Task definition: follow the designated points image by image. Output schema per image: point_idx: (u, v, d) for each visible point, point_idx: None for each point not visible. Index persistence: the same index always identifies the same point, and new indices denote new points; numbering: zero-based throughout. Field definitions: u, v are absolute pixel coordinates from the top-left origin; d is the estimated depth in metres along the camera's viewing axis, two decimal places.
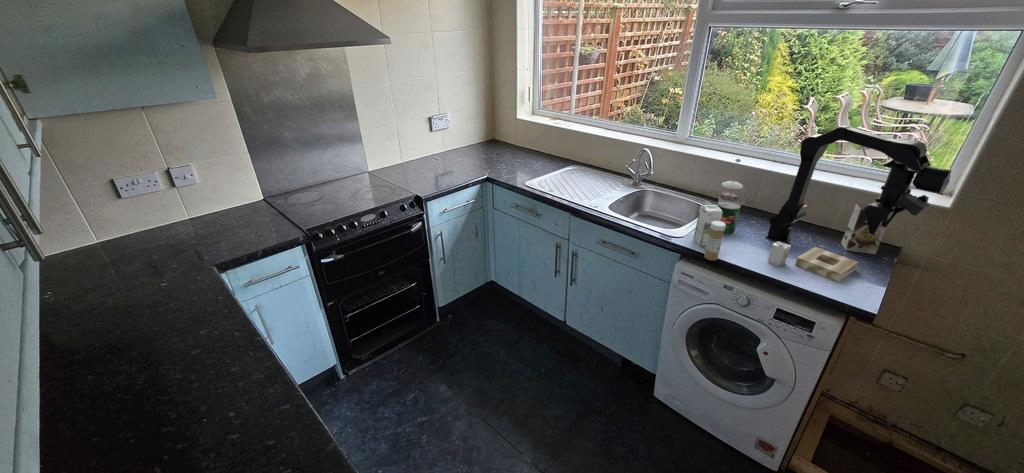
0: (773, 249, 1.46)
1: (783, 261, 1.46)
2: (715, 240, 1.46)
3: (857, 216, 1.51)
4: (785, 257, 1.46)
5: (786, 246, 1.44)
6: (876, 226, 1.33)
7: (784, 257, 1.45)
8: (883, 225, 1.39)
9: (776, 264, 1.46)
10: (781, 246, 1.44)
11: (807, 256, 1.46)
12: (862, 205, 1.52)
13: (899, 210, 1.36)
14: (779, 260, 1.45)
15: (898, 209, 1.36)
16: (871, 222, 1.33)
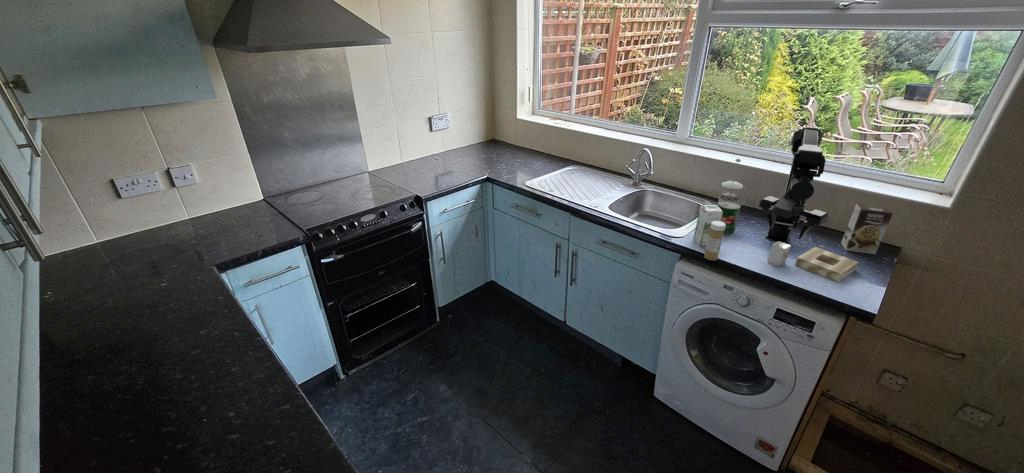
0: (773, 249, 1.46)
1: (783, 261, 1.46)
2: (715, 240, 1.46)
3: (857, 216, 1.51)
4: (785, 257, 1.46)
5: (786, 246, 1.44)
6: None
7: (784, 257, 1.45)
8: None
9: (776, 264, 1.46)
10: (781, 246, 1.44)
11: (807, 256, 1.46)
12: (862, 205, 1.52)
13: None
14: (779, 260, 1.45)
15: None
16: None
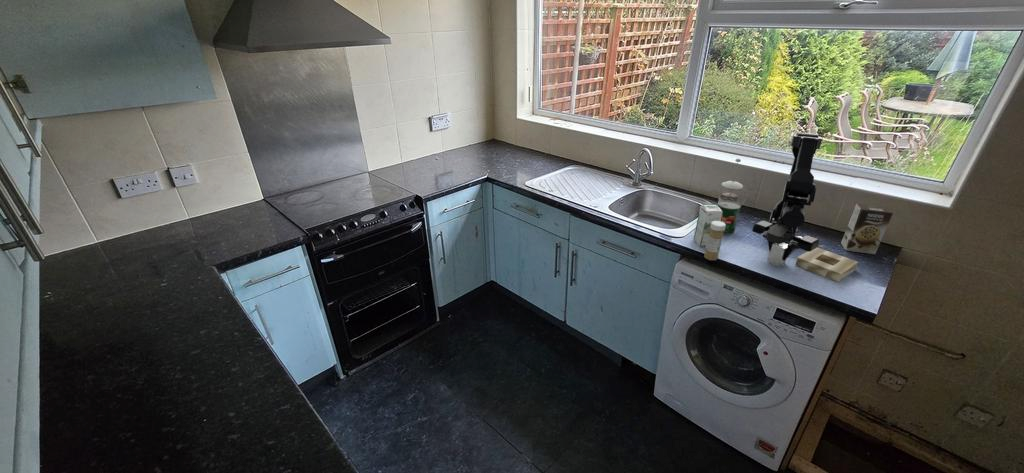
0: (773, 249, 1.46)
1: (783, 261, 1.46)
2: (715, 240, 1.46)
3: (857, 216, 1.51)
4: None
5: (786, 246, 1.44)
6: None
7: None
8: None
9: (776, 264, 1.46)
10: (781, 246, 1.44)
11: (807, 256, 1.46)
12: (862, 205, 1.52)
13: None
14: (779, 260, 1.45)
15: None
16: None
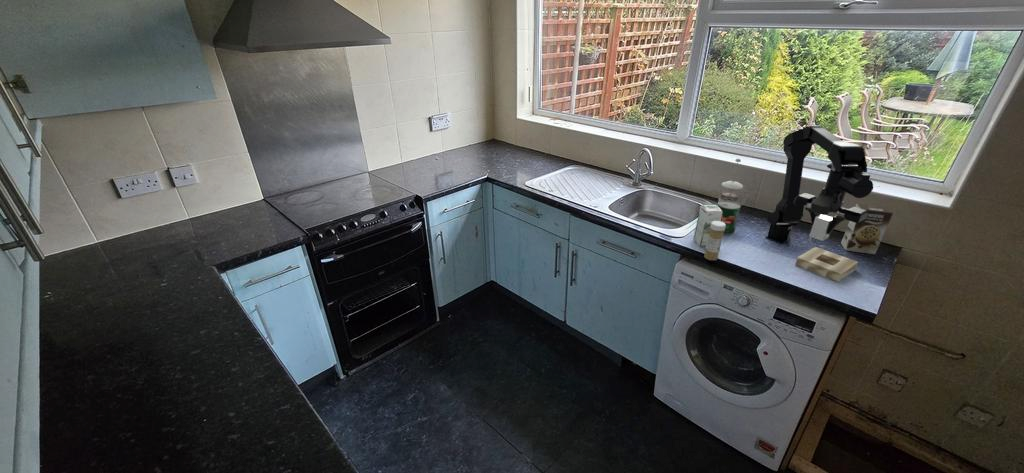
0: (816, 222, 1.39)
1: (826, 235, 1.39)
2: (715, 240, 1.46)
3: None
4: None
5: (830, 219, 1.37)
6: None
7: (827, 231, 1.38)
8: None
9: (819, 238, 1.39)
10: (825, 219, 1.37)
11: (807, 256, 1.46)
12: (862, 205, 1.52)
13: None
14: (822, 233, 1.38)
15: None
16: None
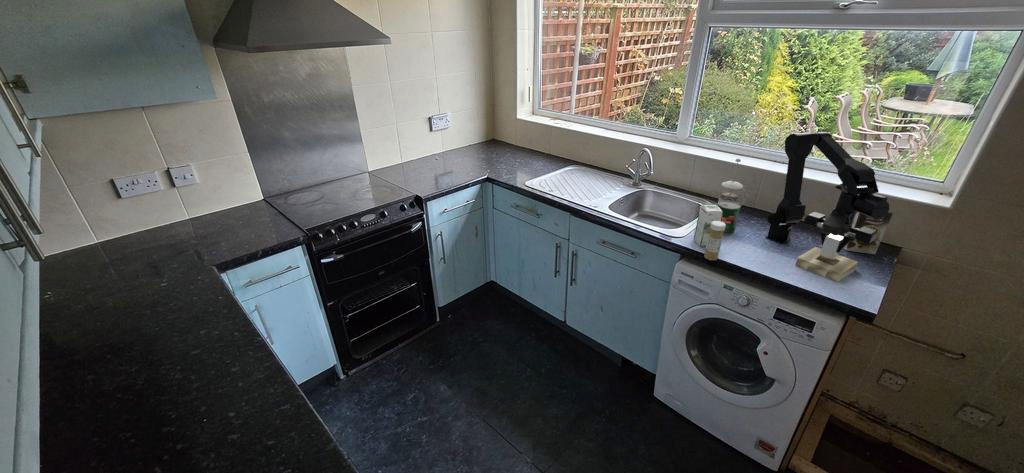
0: (827, 241, 1.41)
1: (836, 254, 1.41)
2: (715, 240, 1.46)
3: (857, 216, 1.51)
4: None
5: (841, 238, 1.39)
6: None
7: None
8: None
9: (829, 257, 1.41)
10: (835, 238, 1.39)
11: (807, 256, 1.46)
12: None
13: None
14: (833, 252, 1.40)
15: None
16: None
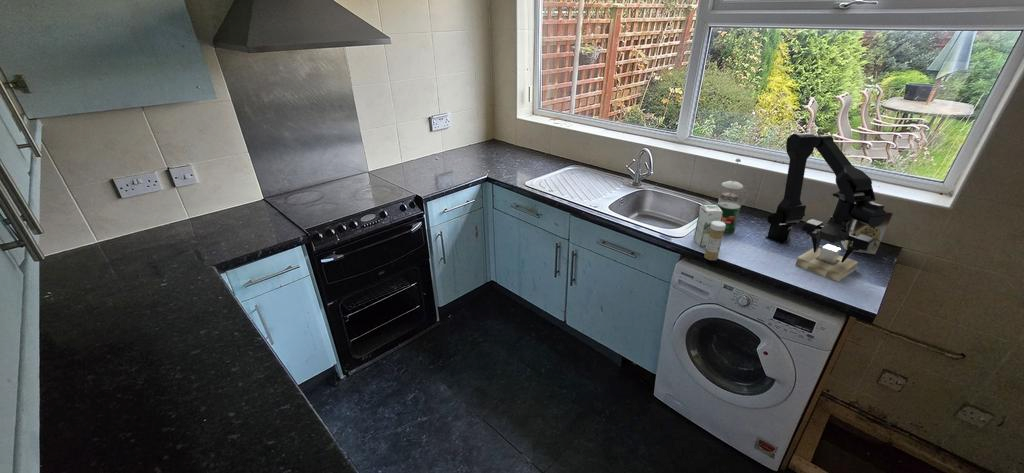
0: (823, 252, 1.43)
1: (833, 264, 1.43)
2: (715, 240, 1.46)
3: None
4: (835, 260, 1.43)
5: (837, 249, 1.41)
6: None
7: (834, 261, 1.42)
8: None
9: None
10: (832, 249, 1.41)
11: (807, 256, 1.46)
12: None
13: (848, 247, 1.36)
14: (829, 263, 1.42)
15: (849, 246, 1.36)
16: None
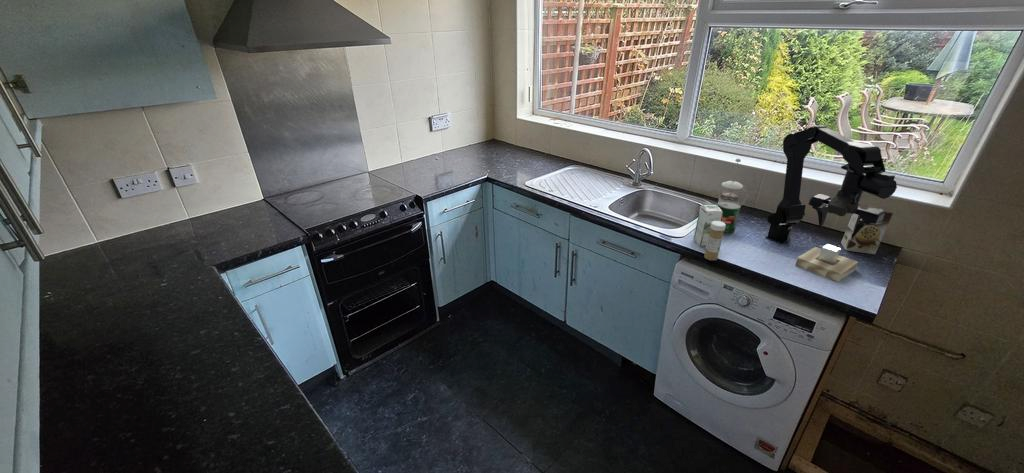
0: (823, 252, 1.43)
1: (833, 264, 1.43)
2: (715, 240, 1.46)
3: (857, 216, 1.51)
4: (835, 260, 1.43)
5: (837, 249, 1.41)
6: None
7: (834, 261, 1.42)
8: None
9: None
10: (832, 249, 1.41)
11: (807, 256, 1.46)
12: (862, 205, 1.52)
13: (858, 221, 1.32)
14: (829, 263, 1.42)
15: None
16: None
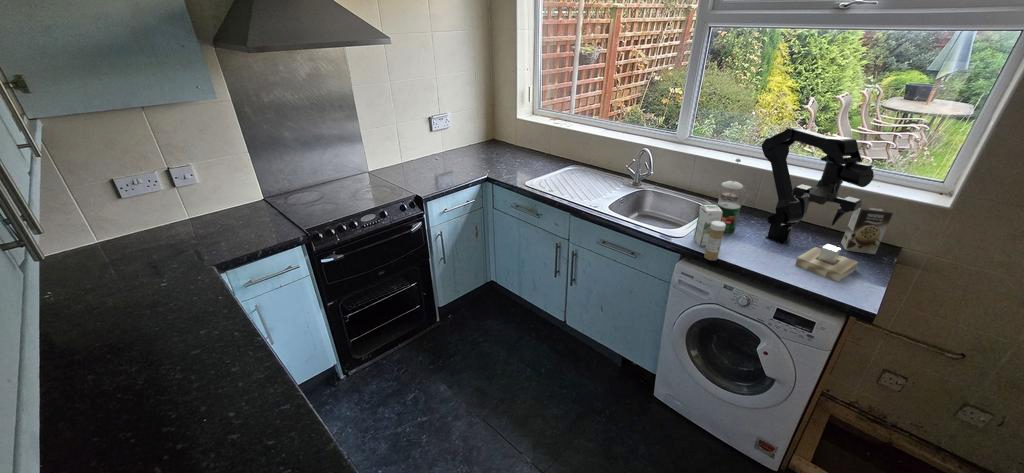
0: (823, 252, 1.43)
1: (833, 264, 1.43)
2: (715, 240, 1.46)
3: (857, 216, 1.51)
4: (835, 260, 1.43)
5: (837, 249, 1.41)
6: None
7: (834, 261, 1.42)
8: None
9: None
10: (832, 249, 1.41)
11: (807, 256, 1.46)
12: (862, 205, 1.52)
13: None
14: (829, 263, 1.42)
15: None
16: None
